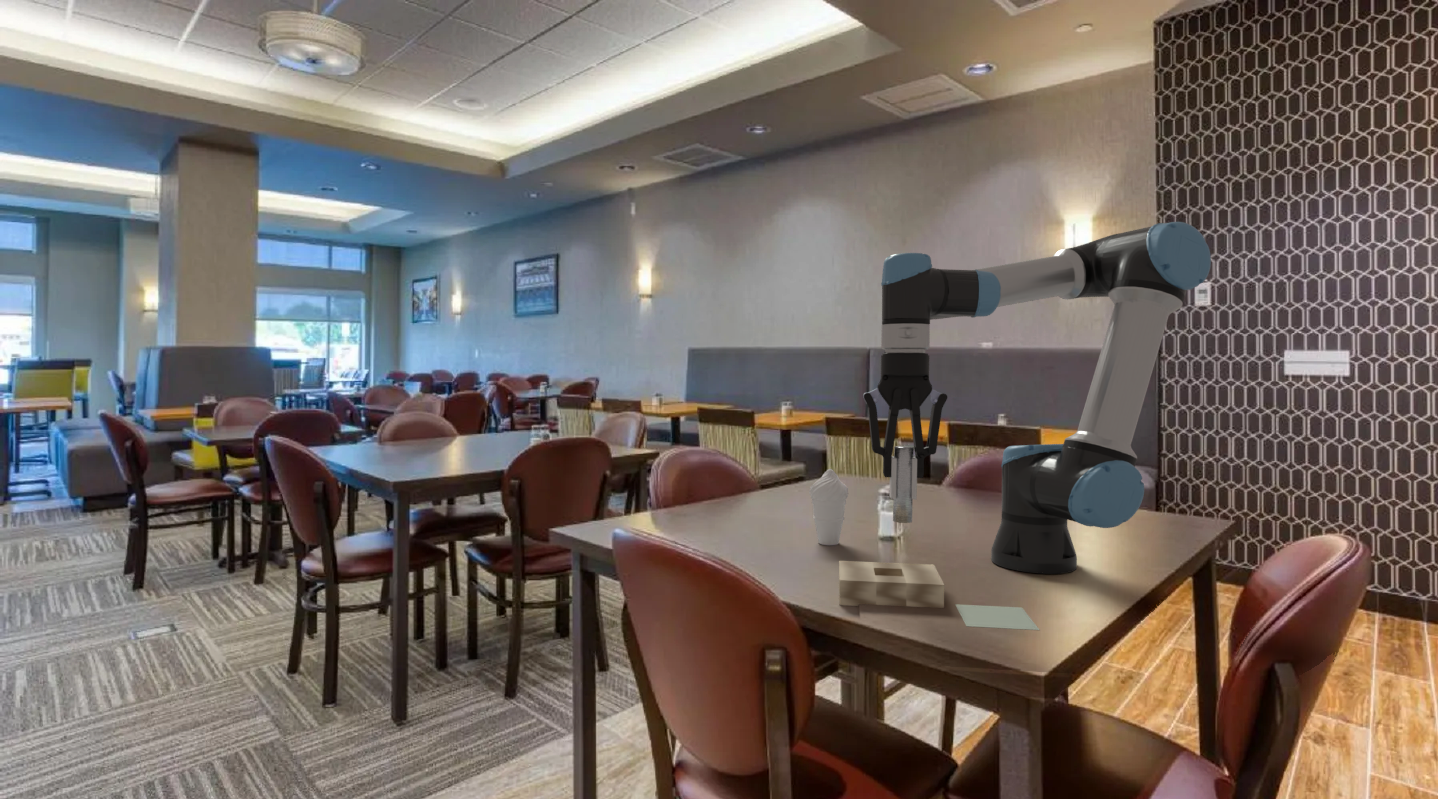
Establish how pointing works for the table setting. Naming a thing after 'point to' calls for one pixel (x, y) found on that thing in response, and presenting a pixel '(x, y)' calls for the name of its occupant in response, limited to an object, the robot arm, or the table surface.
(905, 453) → the peg
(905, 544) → the table surface
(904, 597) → the block
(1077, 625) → the table surface
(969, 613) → the mat
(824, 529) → the soft serve ice cream cone
